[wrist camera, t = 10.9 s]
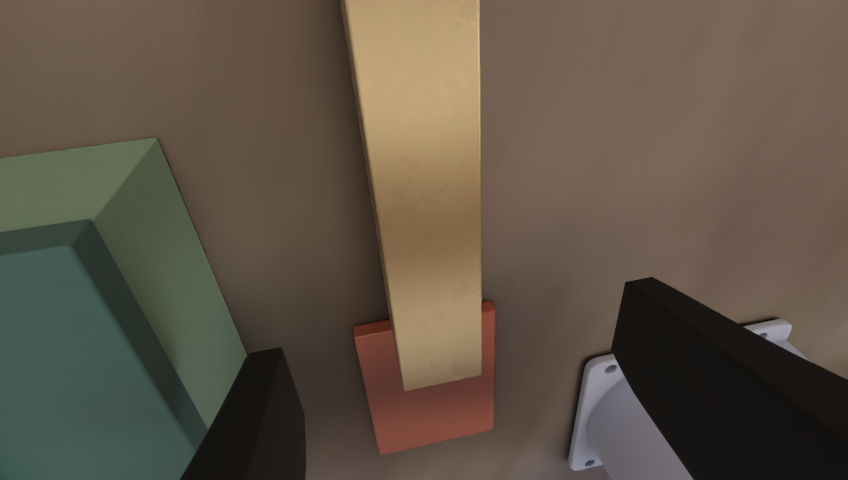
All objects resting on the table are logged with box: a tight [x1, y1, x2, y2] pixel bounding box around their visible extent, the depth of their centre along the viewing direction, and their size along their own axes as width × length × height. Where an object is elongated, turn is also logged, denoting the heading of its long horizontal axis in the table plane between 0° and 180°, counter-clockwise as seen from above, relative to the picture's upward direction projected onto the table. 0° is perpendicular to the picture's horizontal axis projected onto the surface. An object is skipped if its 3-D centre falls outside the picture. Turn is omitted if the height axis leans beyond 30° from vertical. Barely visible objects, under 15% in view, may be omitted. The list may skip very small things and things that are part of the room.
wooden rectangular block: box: [340, 0, 496, 455], centre depth 14 cm, size 18×5×3 cm, turn 5°
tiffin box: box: [0, 138, 247, 480], centre depth 12 cm, size 8×12×6 cm, turn 5°
